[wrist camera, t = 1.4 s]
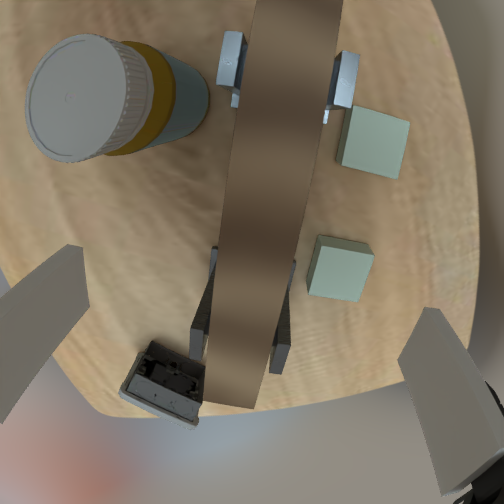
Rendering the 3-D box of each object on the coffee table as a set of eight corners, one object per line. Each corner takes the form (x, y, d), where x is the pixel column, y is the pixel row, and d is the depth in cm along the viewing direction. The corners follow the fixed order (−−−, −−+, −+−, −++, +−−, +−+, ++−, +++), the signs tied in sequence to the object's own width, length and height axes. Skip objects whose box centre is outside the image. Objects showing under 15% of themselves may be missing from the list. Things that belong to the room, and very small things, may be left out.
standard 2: (240, 52, 22) (216, 13, 12) (335, 69, 22) (373, 41, 12) (231, 107, 24) (201, 101, 14) (325, 123, 24) (358, 129, 14)
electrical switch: (137, 354, 37) (113, 403, 28) (149, 327, 36) (123, 377, 27) (201, 384, 39) (189, 438, 30) (218, 361, 37) (208, 416, 28)
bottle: (227, 90, 23) (169, 62, 10) (181, 154, 26) (88, 200, 13) (165, 50, 22) (62, 7, 8) (123, 114, 25) (4, 130, 11)
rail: (265, -3, 14) (262, -30, 10) (332, 9, 14) (345, -15, 10) (211, 365, 26) (203, 400, 22) (257, 373, 26) (253, 409, 22)
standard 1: (212, 246, 30) (182, 314, 20) (295, 260, 30) (303, 335, 20) (208, 289, 32) (180, 365, 22) (284, 303, 32) (286, 384, 22)
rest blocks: (346, 105, 23) (353, 105, 21) (399, 121, 23) (410, 122, 21) (306, 280, 30) (308, 294, 28) (352, 288, 30) (357, 302, 28)
